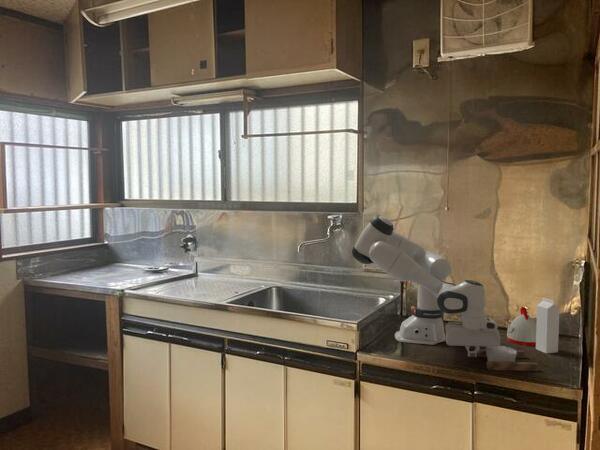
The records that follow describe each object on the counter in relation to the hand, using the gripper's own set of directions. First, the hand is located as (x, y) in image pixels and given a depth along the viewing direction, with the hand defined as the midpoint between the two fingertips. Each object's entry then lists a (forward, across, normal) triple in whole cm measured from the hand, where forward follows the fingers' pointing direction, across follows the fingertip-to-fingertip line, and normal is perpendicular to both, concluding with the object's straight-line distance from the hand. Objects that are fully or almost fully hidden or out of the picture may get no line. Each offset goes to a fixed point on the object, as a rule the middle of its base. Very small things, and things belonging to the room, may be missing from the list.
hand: (472, 356), depth 195 cm
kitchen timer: (+2, +29, +29) cm, 41 cm away
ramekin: (+2, +11, 0) cm, 11 cm away
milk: (+2, +34, +16) cm, 38 cm away
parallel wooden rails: (+2, +13, 0) cm, 13 cm away
